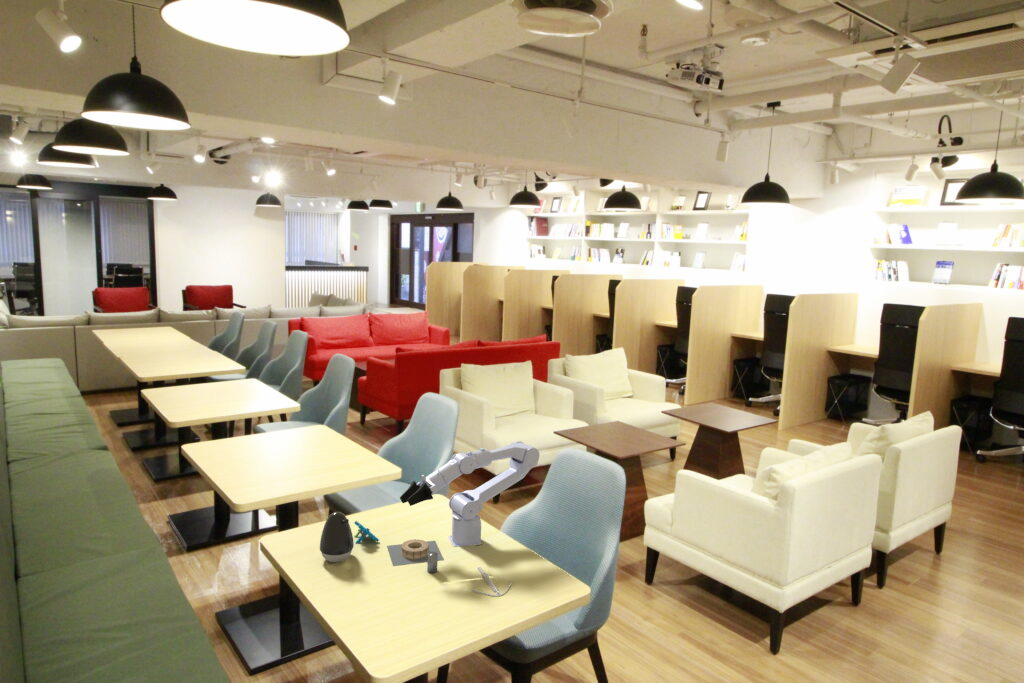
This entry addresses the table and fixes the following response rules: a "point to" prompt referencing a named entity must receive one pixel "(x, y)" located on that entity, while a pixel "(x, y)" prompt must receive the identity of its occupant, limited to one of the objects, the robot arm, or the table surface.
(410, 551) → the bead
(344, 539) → the pump dispenser
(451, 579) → the table surface
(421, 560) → the mat
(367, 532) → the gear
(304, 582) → the table surface
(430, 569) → the peg
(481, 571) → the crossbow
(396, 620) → the table surface
